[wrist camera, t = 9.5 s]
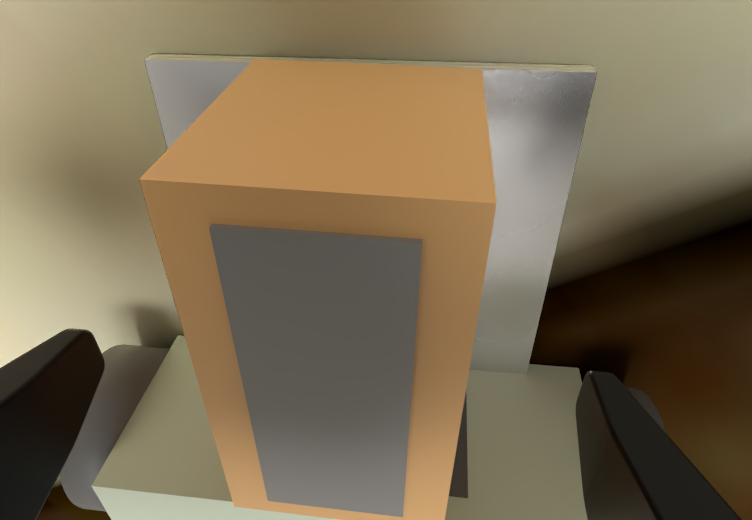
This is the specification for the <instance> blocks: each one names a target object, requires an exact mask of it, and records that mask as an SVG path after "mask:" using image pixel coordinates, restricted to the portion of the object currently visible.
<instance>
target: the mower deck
mask: <svg viewBox="0 0 752 520" xmlns="http://www.w3.org/2000/svg"><path fill="white" fill-rule="evenodd" d="M102 355H103V357H104V361H105V368H104V372H103V375H102V378H101V380H100V383H99V385H98V388H97V390H96V393H95V395H94V398H93V400H92V403H91V405H90V408H89V410H88V413H87V415H86V418H85V420H84V423H83V425H82V428H81V430H80V433H79V435H78V438H77V440H76V442H75V444H74V447H73V449H72V451H71V453H70V455H69V457H68V459H67V461H66V463H65V464H64V466H63V468H62V470H61V472H60V478H61V483H62V486H63V489H64V491H65V493H66V495H67V497H68V498H69V499H70V501H71V502H72V503H73V504H75V505H76V506H77V507H80V508H83V509H91V510H100V511H107V513H108V515H109V516H110V518H111V520H339V519H331V518H323V517H315V516H307V515H299V514H290V513H282V512H274V511H266V510H258V509H250V508H241V507H234V505H233V501H232V498H231V494H230V491H229V488H228V484H227V481H226V477H225V474H224V470H223V467H222V464H221V460H220V457H219V453H218V450H217V446H216V443H215V440H214V436H213V433H212V429H211V426H210V422H209V419H208V415H207V412H206V409H205V405H204V402H203V398H202V395H201V391H200V388H199V385H198V381H197V378H196V374H195V371H194V367H193V364H192V360H191V357H190V354H189V350H188V347H187V343H186V340H185V336H180V335H178V336H177V338H176V339H175V341H174V343H173V345H172V346H171V348H170V349H169V348H157V347H145V346H133V345H117V346H115V347H112V348H110V349H108V350H107V351H105V352H104V353H102ZM581 386H582V380H581V376H580V372H579V368H573V367H561V366H548V365H536V364H529V366H528V370H527V374H518V373H506V372H494V371H482V370H470V369H469V375H468V381H467V387H466V393H465V399H464V405H463V411H462V417H461V424H460V430H459V436H458V442H457V448H456V454H455V460H454V466H453V472H452V478H451V484H450V491H449V497H448V503H447V509H446V515H445V520H588V519H587V514H586V508H585V503H584V497H583V488H582V478H581V467H580V456H579V445H578V434H577V424H576V401H577V398H578V395H579V392H580V389H581ZM626 388H627V389H628V390H629V392H630V393H631V394H632V395H633V396H634V397H635V398H636V400H637V401H638V402H639V403H640V404H641V405H642V406H643V408H644V409H645V410H646V411H647V412H648V413H649V414H650V416H651V417H652V418H653V419H654V420H655V421H656V422H657V424H658V425H659V426H660V427H661V428H662V429H663V430H664V426H663V423H662V421H661V418H660V416H659V413H658V411H657V409H656V407H655V405H654V403H653V402H652V400H651V399H650V398H649V396H648V395H647V394H646V393H645V392H644V391H642V390H641V389H638V388H633V387H626ZM664 432H665V430H664Z"/></svg>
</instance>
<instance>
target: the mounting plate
mask: <svg viewBox="0 0 752 520" xmlns="http://www.w3.org/2000/svg"><path fill="white" fill-rule="evenodd" d="M254 59H274V60H296V61H318V62H340V63H363V64H385V65H407V66H429V67H452V68H474V69H482V73H483V82H484V92H485V101H486V110H487V119H488V128H489V137H490V147H491V156H492V165H493V174H494V183H495V193H496V202H497V204H496V210H495V216H494V223H493V229H492V235H491V241H490V247H489V253H488V259H487V265H486V271H485V277H484V283H483V290H482V296H481V302H480V308H479V314H478V320H477V326H476V332H475V338H474V344H473V350H472V357H471V363H470V370H482V371H494V372H506V373H518V374H527V370H528V366H529V361H530V357H531V353H532V348H533V344H534V340H535V336H536V331H537V327H538V323H539V319H540V314H541V310H542V306H543V301H544V297H545V293H546V289H547V284H548V280H549V276H550V272H551V267H552V263H553V259H554V254H555V250H556V246H557V242H558V237H559V233H560V229H561V225H562V220H563V216H564V212H565V207H566V203H567V199H568V195H569V190H570V186H571V182H572V178H573V173H574V169H575V165H576V160H577V156H578V152H579V148H580V143H581V139H582V135H583V130H584V126H585V122H586V118H587V113H588V109H589V105H590V101H591V96H592V92H593V88H594V83H595V79H596V75H597V71H596V70H595V68H594V66H591V65H553V64H516V63H478V62H441V61H403V60H365V59H328V58H290V57H252V56H215V55H177V54H152V55H150V56H149V57H147V58H146V59H144V61H145V65H146V69H147V72H148V76H149V80H150V84H151V88H152V91H153V95H154V99H155V103H156V107H157V110H158V114H159V118H160V122H161V126H162V129H163V133H164V137H165V141H166V145H167V148H169V147H170V146H171V145H172V144H173V143H174V142H175V141H176V140H177V139H178V138H179V137H180V136H181V135H182V134H183V133H184V132H185V131H186V130H187V129H188V128H189V127H190V126H191V124H192V123H193V122H194V121H195V120H196V119H197V118H198V117H199V116H200V115H201V114H202V113H203V112H204V111H205V110H206V109H207V108H208V107H209V106H210V105H211V104H212V103H213V102H214V101H215V100H216V99H217V97H218V96H219V95H220V94H221V93H222V92H223V91H224V90H225V89H226V88H227V87H228V86H229V85H230V84H231V83H232V82H233V81H234V80H235V79H236V78H237V77H238V76H239V75H240V74H241V73H242V71H243V70H244V69H245V68H246V67H247V66H248V65H249V64H250V63H251V62H252V61H253V60H254Z"/></svg>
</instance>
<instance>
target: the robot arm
mask: <svg viewBox="0 0 752 520" xmlns="http://www.w3.org/2000/svg"><path fill="white" fill-rule="evenodd" d="M104 368H105V361H104V357H103V355H102V353H101V351H100V349H99V346H98V344H97V342H96V340H95V338H94V336H93V334H92V333H91V332H90V331H88V330H82V329H66V330H64V331H62V332H60V333H58V334H57V335H55V336H53V337H52V338H50V339H48V340H47V341H45V342H43V343H42V344H40V345H38V346H36V347H35V348H33V349H31V350H30V351H28V352H26V353H25V354H23V355H21V356H20V357H18V358H16V359H15V360H13V361H11V362H10V363H8V364H6V365H5V366H3V367H1V368H0V520H36V518H37V516H38V514H39V512H40V510H41V508H42V507H43V505H44V503H45V501H46V499H47V497H48V495H49V493H50V491H51V489H52V487H53V486H54V484H55V482H56V480H57V478H58V476H59V474H60V472H61V470H62V468H63V466H64V464H65V463H66V461H67V459H68V457H69V455H70V453H71V451H72V449H73V447H74V444H75V442H76V440H77V438H78V435H79V433H80V430H81V428H82V425H83V423H84V420H85V418H86V415H87V413H88V410H89V408H90V405H91V403H92V400H93V398H94V395H95V393H96V390H97V388H98V385H99V383H100V380H101V378H102V375H103V372H104ZM576 424H577V434H578V445H579V456H580V467H581V478H582V488H583V497H584V503H585V508H586V514H587V519H588V520H741V519H740V517H739V516H738V515H737V514H736V513H735V512H734V511H733V509H732V508H731V507H730V506H729V505H728V504H727V503H726V501H725V500H724V499H723V498H722V497H721V496H720V495H719V493H718V492H717V491H716V490H715V489H714V488H713V487H712V485H711V484H710V483H709V482H708V481H707V480H706V479H705V477H704V476H703V475H702V474H701V473H700V472H699V471H698V469H697V468H696V467H695V466H694V465H693V464H692V463H691V461H690V460H689V459H688V458H687V457H686V456H685V454H684V453H683V452H682V451H681V450H680V449H679V448H678V446H677V445H676V444H675V443H674V442H673V441H672V440H671V438H670V437H669V436H668V435H667V434H666V433H665V432H664V430H663V429H662V428H661V427H660V426H659V425H658V424H657V422H656V421H655V420H654V419H653V418H652V417H651V416H650V414H649V413H648V412H647V411H646V410H645V409H644V408H643V406H642V405H641V404H640V403H639V402H638V401H637V400H636V398H635V397H634V396H633V395H632V394H631V393H630V392H629V390H628V389H627V388H626V387H625V386H624V385H623V383H622V382H621V381H620V380H619V379H618V378H617V377H616V376H615V375H614V374H613V373H610V372H601V371H589V372H587V373H586V375H585V377H584V380H583V383H582V386H581V389H580V392H579V395H578V398H577V401H576Z"/></svg>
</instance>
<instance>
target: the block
mask: <svg viewBox="0 0 752 520" xmlns="http://www.w3.org/2000/svg"><path fill="white" fill-rule="evenodd" d="M139 182H140V185H141V189H142V192H143V195H144V199H145V202H146V206H147V209H148V213H149V216H150V220H151V223H152V226H153V230H154V233H155V237H156V240H157V244H158V247H159V250H160V254H161V257H162V261H163V264H164V268H165V271H166V275H167V278H168V281H169V285H170V288H171V292H172V295H173V299H174V302H175V305H176V309H177V312H178V316H179V319H180V323H181V326H182V330H183V333H184V336H185V340H186V343H187V347H188V350H189V354H190V357H191V360H192V364H193V367H194V371H195V374H196V378H197V381H198V385H199V388H200V391H201V395H202V398H203V402H204V405H205V409H206V412H207V415H208V419H209V422H210V426H211V429H212V433H213V436H214V440H215V443H216V446H217V450H218V453H219V457H220V460H221V464H222V467H223V470H224V474H225V477H226V481H227V484H228V488H229V491H230V494H231V498H232V501H233V505H234V507H241V508H250V509H258V510H266V511H274V512H282V513H290V514H299V515H307V516H315V517H323V518H331V519H339V520H445V515H446V509H447V503H448V497H449V491H450V484H451V478H452V472H453V466H454V460H455V454H456V448H457V442H458V436H459V430H460V424H461V417H462V411H463V405H464V399H465V393H466V387H467V381H468V375H469V369H470V363H471V357H472V350H473V344H474V338H475V332H476V326H477V320H478V314H479V308H480V302H481V296H482V290H483V283H484V277H485V271H486V265H487V259H488V253H489V247H490V241H491V235H492V229H493V223H494V216H495V210H496V204H497V202H496V193H495V183H494V174H493V165H492V156H491V147H490V137H489V128H488V119H487V110H486V101H485V92H484V82H483V73H482V69H474V68H452V67H429V66H407V65H385V64H363V63H340V62H318V61H296V60H274V59H254V60H253V61H252V62H251V63H250V64H249V65H248V66H247V67H246V68H245V69H244V70H243V71H242V73H241V74H240V75H239V76H238V77H237V78H236V79H235V80H234V81H233V82H232V83H231V84H230V85H229V86H228V87H227V88H226V89H225V90H224V91H223V92H222V93H221V94H220V95H219V96H218V97H217V99H216V100H215V101H214V102H213V103H212V104H211V105H210V106H209V107H208V108H207V109H206V110H205V111H204V112H203V113H202V114H201V115H200V116H199V117H198V118H197V119H196V120H195V121H194V122H193V123H192V124H191V126H190V127H189V128H188V129H187V130H186V131H185V132H184V133H183V134H182V135H181V136H180V137H179V138H178V139H177V140H176V141H175V142H174V143H173V144H172V145H171V146H170V147H169V148H168V149H167V150H166V152H165V153H164V154H163V155H162V156H161V157H160V158H159V159H158V160H157V161H156V162H155V163H154V164H153V165H152V166H151V167H150V168H149V169H148V170H147V171H146V172H145V173H144V174H143V175H142V176H141V177H140V179H139Z"/></svg>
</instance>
